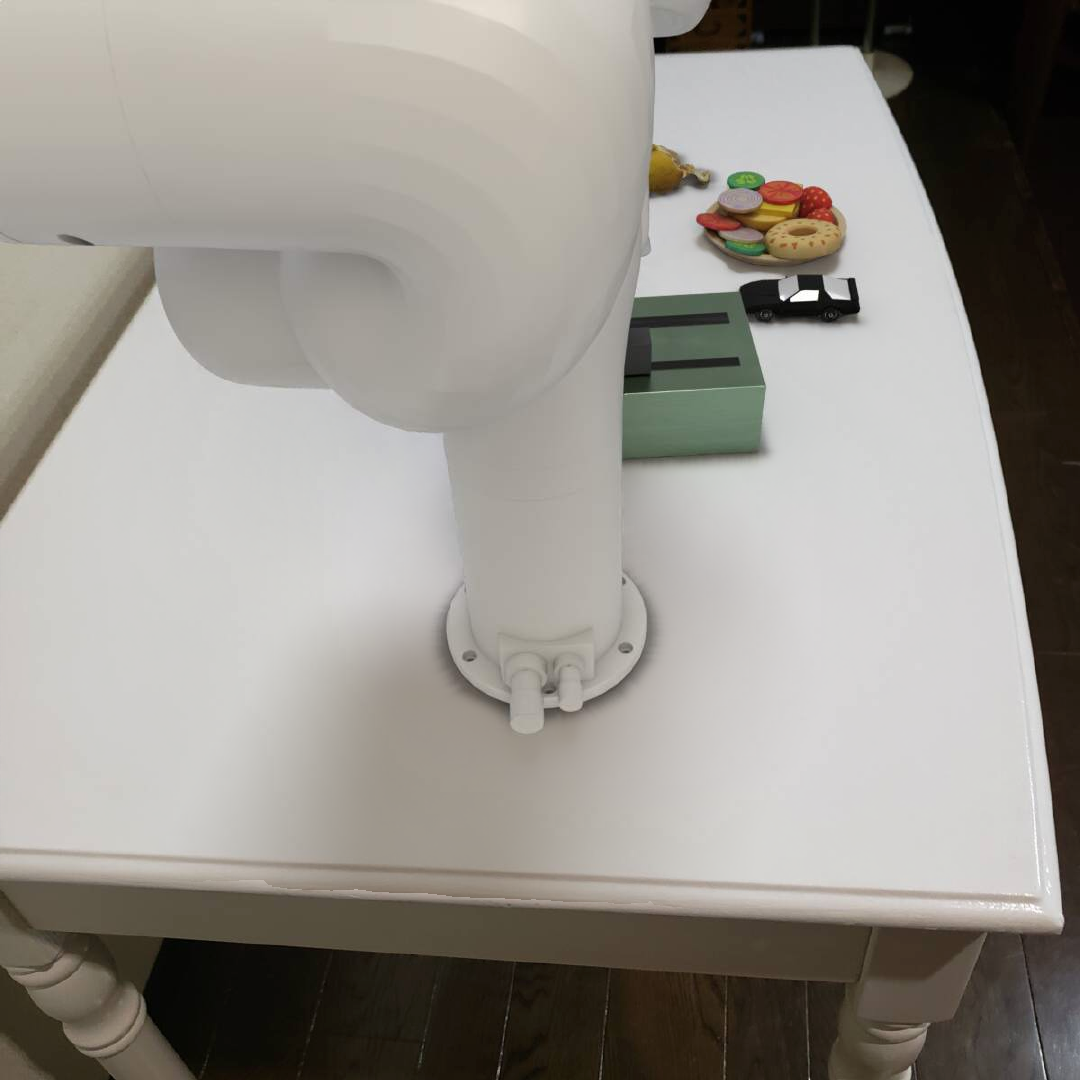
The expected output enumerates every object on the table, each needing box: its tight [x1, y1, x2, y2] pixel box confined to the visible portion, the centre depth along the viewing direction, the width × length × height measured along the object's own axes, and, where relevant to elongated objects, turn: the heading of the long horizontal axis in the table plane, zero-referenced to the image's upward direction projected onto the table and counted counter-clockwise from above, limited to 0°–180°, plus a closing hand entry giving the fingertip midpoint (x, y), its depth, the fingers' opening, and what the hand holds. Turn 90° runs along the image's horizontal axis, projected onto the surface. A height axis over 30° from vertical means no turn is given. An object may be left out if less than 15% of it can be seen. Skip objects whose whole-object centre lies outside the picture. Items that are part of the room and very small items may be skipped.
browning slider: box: [624, 327, 652, 375], centre depth 79 cm, size 2×2×3 cm
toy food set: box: [695, 170, 848, 267], centre depth 102 cm, size 13×13×3 cm
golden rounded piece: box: [649, 143, 711, 195], centre depth 110 cm, size 8×8×4 cm
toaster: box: [622, 290, 767, 460], centre depth 84 cm, size 12×12×6 cm
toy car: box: [738, 273, 861, 323], centre depth 93 cm, size 10×4×3 cm, turn 85°
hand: (571, 331), depth 78 cm, fingers closed
